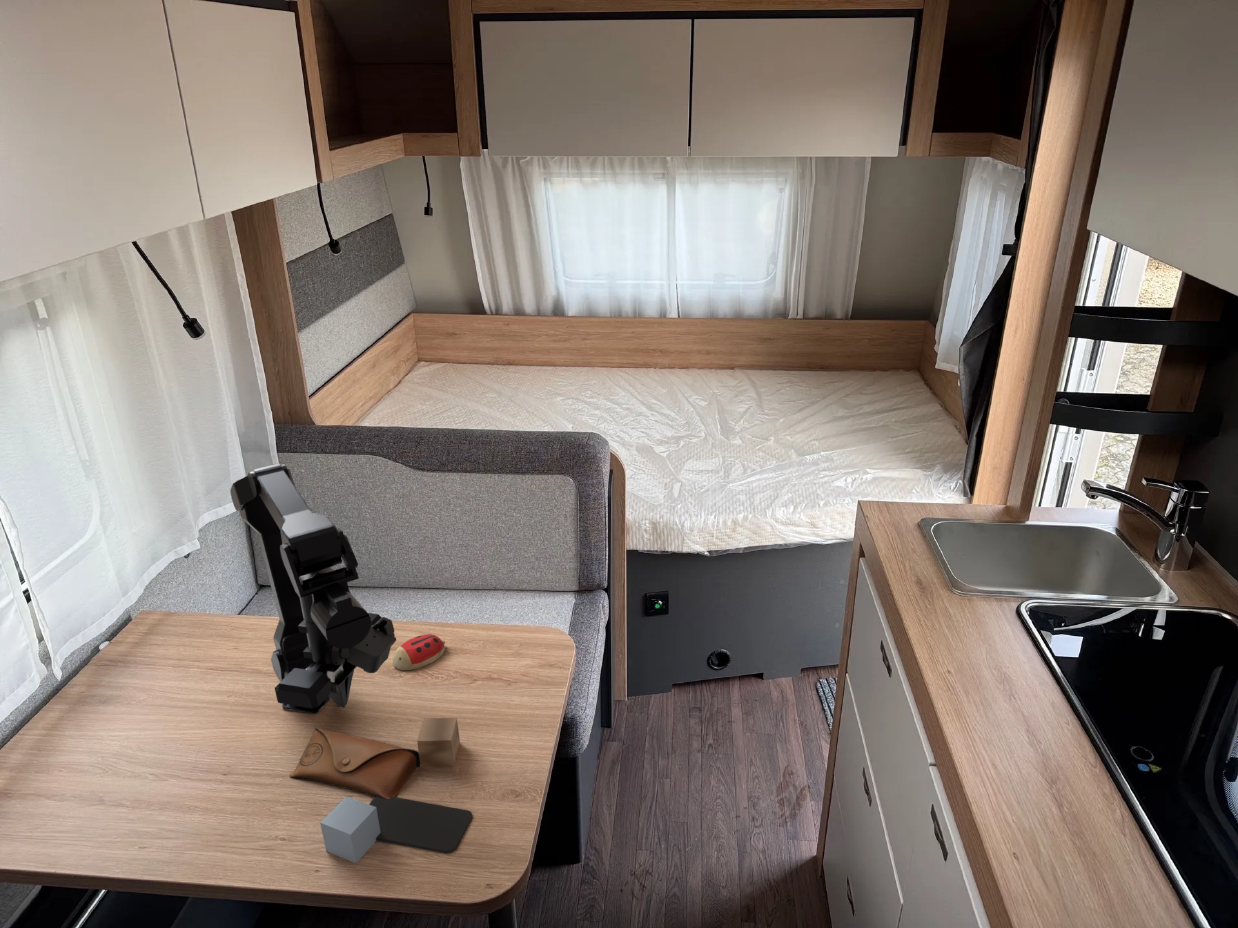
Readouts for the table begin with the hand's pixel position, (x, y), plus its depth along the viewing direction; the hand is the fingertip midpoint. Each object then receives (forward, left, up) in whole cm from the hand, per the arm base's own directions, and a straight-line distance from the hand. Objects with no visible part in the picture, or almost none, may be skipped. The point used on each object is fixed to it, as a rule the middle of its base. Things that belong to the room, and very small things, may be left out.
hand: (342, 705), depth 121 cm
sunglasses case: (0, 0, -12) cm, 12 cm away
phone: (+13, -7, -12) cm, 20 cm away
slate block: (+7, -12, -12) cm, 18 cm away
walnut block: (+11, +6, -12) cm, 17 cm away
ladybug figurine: (-4, +28, -12) cm, 31 cm away
